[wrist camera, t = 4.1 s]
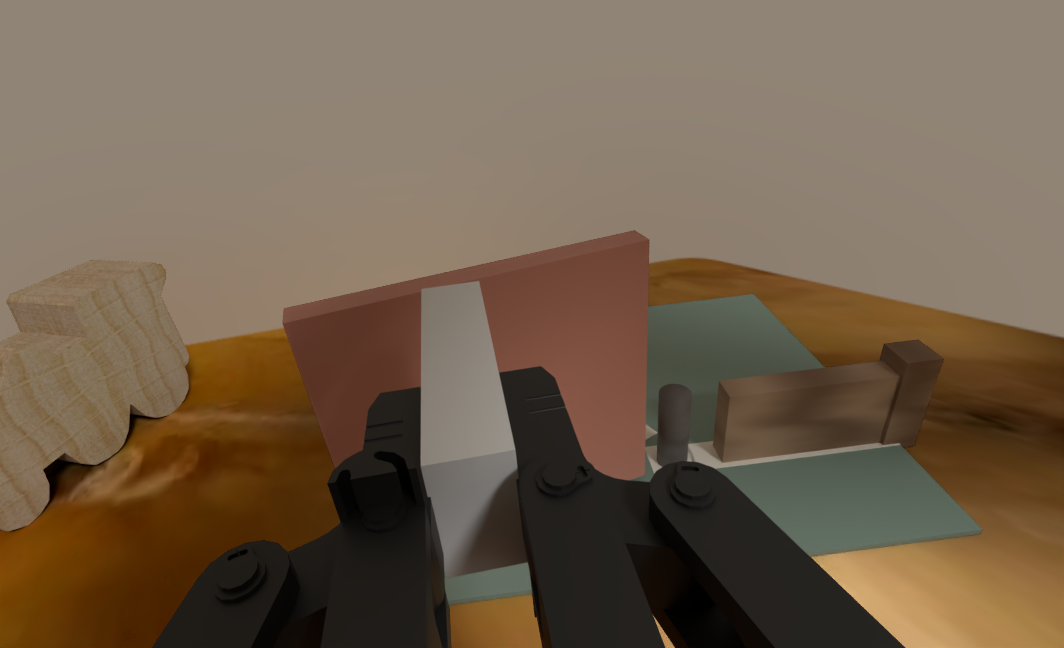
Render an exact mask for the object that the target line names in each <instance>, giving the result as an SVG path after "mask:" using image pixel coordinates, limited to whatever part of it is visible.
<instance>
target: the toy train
mask: <svg viewBox="0 0 1064 648" xmlns="http://www.w3.org/2000/svg"><path fill="white" fill-rule="evenodd" d="M165 280H166V270H165V269H164V268H163V266H162V265H161V264H157V263H152V262H128V261H105V260H104V261H103V260H90V261H88V262H86V263H83V264H81V265H78V266H77V267H74V268H72V269H69V270H67V271H64V272H62V273H60V274H57V275H55V276H52V277H50V278H48V279H45V280H43V281H41V282H38V283H36V284H33V285H31V286H29V287H26V288H24V289H22V290H19V291H17V292H15V293H12V294H10V295H9V297H8V299H7V301H6V303H7V304H8V306H9V308H10V310H11V312H12V314H13V317H14V319H15V321H16V323H17V325H18V327H19V329H20V333H18V334H16V335H14V336H12V337H10V338H7V339H6V340H3V341H1V342H0V530H4V531H12V530H15V529H18V528H21V527H25V526H28V525H29V524H30V523H32V522H33V521H34V520H35V519H36V518H37V517H38V516H39V515H40V514H41V513H42V511H43V510H44V508H45V506H46V505H47V503H48V501H49V482H48V480H47V478H46V475H45V473H44V471H43V469H44V468H46V467H47V466H48V465H49V464H51V463H52V462H53V461H55V460H56V459H59V460H64V461H70V462H75V463H81V464H92V465H97V464H99V463H101V462H102V461H104V460H106V459H108V458H109V457H111V456H112V455H114V454H115V453H116V452H118V451H119V449H120V448H121V447H122V446H123V444H124V442H125V439H126V437H127V434H128V431H129V419H130V414H134V415H141V416H148V417H155V418H158V417H163V416H167V415H169V414H171V413H172V412H173V411H175V410H176V409H177V408H179V406H180V405H181V404H182V402H183V401H184V399H185V397H186V394H187V392H188V389H189V383H188V374H187V371H186V369H185V366H186V364H187V363H188V362H189V354H188V352H187V349H186V347H185V345H184V343H183V341H182V339H181V337H180V335H179V333H178V331H177V328H176V326H175V324H174V322H173V320H172V318H171V316H170V314H169V312H168V309H167V307H166V305H165V303H164V301H163V299H162V297H161V294H162V290H163V287H164V283H165Z"/></svg>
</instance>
